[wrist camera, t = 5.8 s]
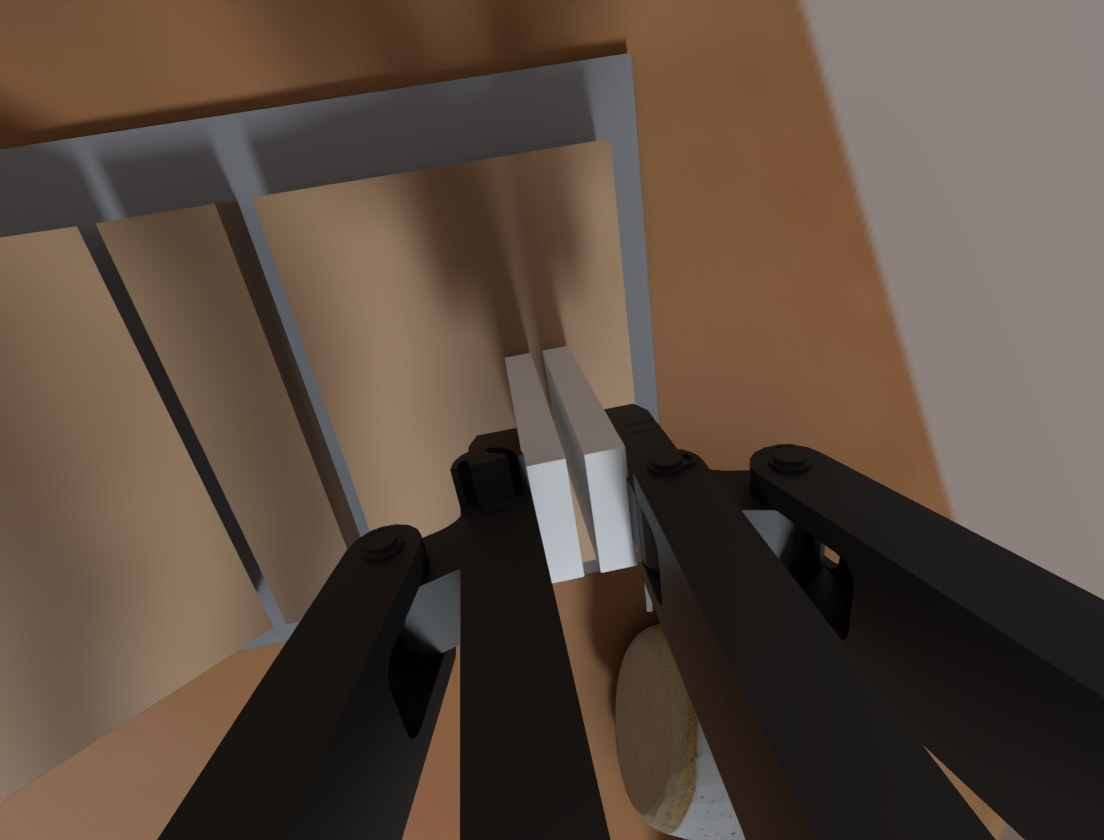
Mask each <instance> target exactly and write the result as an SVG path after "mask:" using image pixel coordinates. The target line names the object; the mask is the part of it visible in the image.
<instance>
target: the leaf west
mask: <svg viewBox="0 0 1104 840" xmlns="http://www.w3.org/2000/svg"><path fill="white" fill-rule="evenodd" d="M273 628H274V627H273V625H272V623H271V621H270V619H269V617H268V615H267V613H266V610H265V608H264V606H263V604H262V602H261V600H260V598H259V596H258V594H257V592H256V590H255V588H254V586H253V584H252V582H251V580H250V578H249V576H248V574H247V572H246V570H245V568H244V566H243V564H242V562H241V560H240V558H239V556H238V553H237V551H236V549H235V547H234V545H233V543H232V541H231V539H230V537H229V535H228V533H227V531H226V529H225V527H224V525H223V523H222V521H221V519H220V517H219V515H218V513H217V511H216V509H215V507H214V505H213V503H212V501H211V499H210V496H209V494H208V492H207V490H206V488H205V486H204V484H203V482H202V480H201V478H200V476H199V474H198V472H197V470H196V468H195V466H194V464H193V462H192V460H191V458H190V456H189V454H188V452H187V450H186V448H185V446H184V444H183V442H182V439H181V437H180V435H179V433H178V431H177V429H176V427H175V425H174V423H173V421H172V419H171V417H170V415H169V413H168V411H167V409H166V407H165V405H164V403H163V401H162V399H161V397H160V395H159V393H158V391H157V389H156V387H155V385H154V382H153V380H152V378H151V376H150V374H149V372H148V370H147V368H146V366H145V364H144V362H143V360H142V358H141V356H140V354H139V352H138V350H137V348H136V346H135V344H134V342H133V340H132V338H131V336H130V334H129V332H128V330H127V328H126V325H125V323H124V321H123V319H122V317H121V315H120V313H119V311H118V309H117V307H116V305H115V303H114V301H113V299H112V297H111V295H110V293H109V291H108V289H107V287H106V285H105V283H104V281H103V279H102V277H101V275H100V273H99V270H98V268H97V266H96V264H95V262H94V260H93V258H92V256H91V254H90V252H89V250H88V248H87V246H86V244H85V242H84V240H83V238H82V236H81V234H80V232H79V230H78V228H77V226H75V227H68V228H61V229H55V230H48V231H41V232H34V233H28V234H21V235H14V236H7V237H0V802H1V801H2V800H4V799H6V798H7V797H9V796H10V795H12V794H13V793H15V792H17V791H18V790H20V789H21V788H23V787H24V786H26V785H28V784H29V783H31V782H32V781H34V780H35V779H37V778H39V777H40V776H42V775H43V774H45V773H46V772H48V771H50V770H51V769H53V768H54V767H56V766H57V765H59V764H61V763H62V762H64V761H65V760H67V759H68V758H70V757H72V756H73V755H75V754H76V753H78V752H79V751H81V750H83V749H84V748H86V747H87V746H89V745H90V744H92V743H94V742H95V741H97V740H98V739H100V738H101V737H103V736H105V735H106V734H108V733H109V732H111V731H112V730H114V729H116V728H117V727H119V726H120V725H122V724H123V723H125V722H127V721H128V720H130V719H131V718H133V717H134V716H136V715H138V714H139V713H141V712H142V711H144V710H145V709H147V708H149V707H150V706H152V705H153V704H155V703H156V702H158V701H160V700H161V699H163V698H164V697H166V696H167V695H169V694H171V693H172V692H174V691H175V690H177V689H178V688H180V687H182V686H183V685H185V684H186V683H188V682H189V681H191V680H193V679H194V678H196V677H197V676H199V675H200V674H202V673H204V672H205V671H207V670H208V669H210V668H211V667H213V666H215V665H216V664H218V663H219V662H221V661H222V660H224V659H226V658H227V657H229V656H230V655H232V654H233V653H235V652H237V651H238V650H240V649H241V648H243V647H244V646H246V645H248V644H249V643H251V642H252V641H254V640H255V639H257V638H259V637H260V636H262V635H263V634H265V633H266V632H268V631H270V630H271V629H273Z"/></svg>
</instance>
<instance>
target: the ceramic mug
mask: <svg viewBox="0 0 1104 840" xmlns="http://www.w3.org/2000/svg"><path fill="white" fill-rule="evenodd" d="M615 731H616V744H617V753H618V761H619V765H620V770H621V774H622V778H623V782H624V786H625V789H626V792H627V794H628V796H629V798H630V800H631V802H632V804H633V806H634V807H635V809H636V810H637V812H638V813H639V814H640V816H641V817H642V818H643V819H644V821H645V822H646V823H647V824H648V825H649V826H651V827H652V828H654V829H656V830H658V831H661V832H663V833H666V834H669V835H673V836H676V837H680V838H683V839H687V840H746V839H745V837H744V834H743V832H742V829H741V827H740V824H739V822H738V819H737V817H736V814H735V811H734V809H733V806H732V804H731V801H730V799H729V796H728V794H727V791H726V789H725V786H724V784H723V781H722V778H721V776H720V773H719V771H718V768H717V766H716V763H715V761H714V758H713V756H712V753H711V751H710V748H709V745H708V743H707V740H706V738H705V735H704V733H703V730H702V728H701V725H700V723H699V720H698V718H697V715H696V712H695V710H694V707H693V705H692V702H691V700H690V697H689V695H688V692H687V690H686V687H685V685H684V682H683V679H682V677H681V674H680V672H679V669H678V667H677V664H676V662H675V659H674V657H673V654H672V652H671V649H670V646H669V644H668V641H667V639H666V636H665V634H664V631H663V629H662V626H661V624H658V625H654V626H651V627H647V628H645V629H644V630H643V631H642V632H640V633H639V634H638V635H637V636H636V637H635V638H634V639H633V641H632V642H631V644H630V646H629V647H628V649H627V651H626V653H625V655H624V658H623V661H622V664H621V668H620V673H619V678H618V683H617V691H616V706H615Z"/></svg>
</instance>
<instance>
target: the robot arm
mask: <svg viewBox="0 0 1104 840" xmlns="http://www.w3.org/2000/svg"><path fill="white" fill-rule="evenodd" d="M542 353H543V359H544V365H545V371H546V377H547V383H548V389H549V395H550V402H551V408H552V414H553V419H552V416H551V413H550V410H549V407H548V404H547V401H546V398H545V395H544V392H543V389H542V386H541V383H540V380H539V377H538V374H537V371H536V368H535V365H534V362H533V359H532V356H531V353H527V354H522V355H516V356H511V357H505V363H506V369H507V374H508V380H509V385H510V391H511V397H512V402H513V408H514V413H515V419H516V425H517V428H513V429H507V430H502V431H497V432H492V433H487V434H482V435H477V436H476V437H475V439H474V440H473V441H472V443H471V444H470V445H469V447H468V452H466V453H464V454H463V455H461V456H460V457H459V458H457V459H456V460H455V461H454V462H453V464H452V466H451V469H450V471H451V475H452V479H453V483H454V486H455V490H456V494H457V498H458V501H459V505H460V517H459V518H458V519H457V520H456V521H455V522H453V523H452V524H450V525H449V526H448V527H446V528H444V529H442V530H440V531H437V532H435V533H433V534H430V535H428V536H425V537H423V538H422V535H421V534H420V532H419V530H418V529H417V528H415V527H413V526H410V525H404V524H394V525H389V526H383V527H379V528H377V529H374V530H372V531H370V532H368V533H366V534H365V535H363V536H362V537H360V538H359V539H357V540H356V541H355V542H354V543H353V544H352V545H351V546H350V547H349V548H348V549H347V550H346V552H345V553H344V555H343V556H342V558H341V559H340V561H339V563H338V564H337V566H336V567H335V569H334V570H333V572H332V573H331V575H330V576H329V578H328V579H327V581H326V582H325V584H324V585H323V587H322V589H321V590H320V592H319V593H318V595H317V596H316V598H315V599H314V601H313V602H312V604H311V605H310V607H309V608H308V610H307V611H306V613H305V615H304V616H303V618H302V619H301V621H300V622H299V624H298V625H297V627H296V628H295V630H294V631H293V633H292V634H291V636H290V637H289V639H288V641H287V642H286V644H285V645H284V647H283V648H282V650H281V651H280V653H279V654H278V656H277V657H276V659H275V660H274V662H273V663H272V665H271V667H270V668H269V670H268V671H267V673H266V674H265V676H264V677H263V679H262V680H261V682H260V683H259V685H258V686H257V688H256V689H255V691H254V693H253V694H252V696H251V697H250V699H249V700H248V702H247V703H246V705H245V706H244V708H243V709H242V711H241V712H240V714H239V715H238V717H237V719H236V720H235V722H234V723H233V725H232V726H231V728H230V729H229V731H228V732H227V734H226V735H225V737H224V738H223V740H222V741H221V743H220V745H219V746H218V748H217V749H216V751H215V752H214V754H213V755H212V757H211V758H210V760H209V761H208V763H207V764H206V766H205V767H204V769H203V771H202V772H201V774H200V775H199V777H198V778H197V780H196V781H195V783H194V784H193V786H192V787H191V789H190V790H189V792H188V793H187V795H186V797H185V798H184V800H183V801H182V803H181V804H180V806H179V807H178V809H177V810H176V812H175V813H174V815H173V816H172V818H171V819H170V821H169V823H168V824H167V826H166V827H165V829H164V830H163V832H162V833H161V835H160V836H159V838H158V839H157V840H402V837H403V833H404V830H405V827H406V823H407V820H408V817H409V813H410V810H411V806H412V803H413V800H414V796H415V793H416V789H417V786H418V783H419V779H420V776H421V773H422V769H423V766H424V762H425V759H426V756H427V752H428V749H429V746H430V742H431V739H432V735H433V732H434V729H435V725H436V722H437V718H438V715H439V712H440V708H441V705H442V702H443V698H444V695H445V691H446V688H447V685H448V681H449V678H450V674H451V671H452V668H453V664H454V661H455V656H456V646H458V645H460V840H610V836H609V832H608V828H607V823H606V819H605V814H604V810H603V806H602V801H601V797H600V792H599V788H598V784H597V779H596V775H595V770H594V766H593V762H592V757H591V753H590V748H589V744H588V740H587V735H586V731H585V726H584V722H583V718H582V713H581V709H580V704H579V700H578V696H577V691H576V687H575V682H574V678H573V674H572V669H571V665H570V660H569V656H568V652H567V647H566V643H565V638H564V634H563V630H562V625H561V621H560V616H559V612H558V608H557V603H556V599H555V594H554V590H553V586H552V583H557V582H561V581H566V580H571V579H576V578H580V577H584V571H583V565H582V559H581V552H580V546H579V540H578V533H577V527H576V521H575V515H574V508H573V502H572V496H571V490H570V483H569V477H568V473H569V476H570V479H571V482H572V485H573V488H574V491H575V495H576V498H577V501H578V504H579V507H580V510H581V513H582V516H583V519H584V522H585V525H586V528H587V532H588V535H589V538H590V541H591V544H592V547H593V550H594V553H595V556H596V559H597V562H598V565H599V568H600V572H601V573H604V572H608V571H613V570H618V569H622V568H627V567H632V566H637V565H638V564H637V555H636V547H637V550H638V552H639V554H640V556H641V559H642V566H643V576H644V586H645V596H646V605H647V612H650V611H653V607H652V603H653V606H654V608H655V611H656V613H657V616H658V619H659V621H660V624H661V626H662V629H663V631H664V634H665V636H666V639H667V641H668V644H669V646H670V649H671V652H672V654H673V657H674V659H675V662H676V664H677V667H678V669H679V672H680V674H681V677H682V679H683V682H684V685H685V687H686V690H687V692H688V695H689V697H690V700H691V702H692V705H693V707H694V710H695V712H696V715H697V718H698V720H699V723H700V725H701V728H702V730H703V733H704V735H705V738H706V740H707V743H708V745H709V748H710V751H711V753H712V756H713V758H714V761H715V763H716V766H717V768H718V771H719V773H720V776H721V778H722V781H723V784H724V786H725V789H726V791H727V794H728V796H729V799H730V801H731V804H732V806H733V809H734V811H735V814H736V817H737V819H738V822H739V824H740V827H741V829H742V832H743V834H744V837H745V839H746V840H995V838H994V837H993V836H992V834H991V833H990V832H989V831H988V829H987V828H986V827H985V825H984V824H983V823H982V822H981V820H980V819H979V818H978V816H977V815H976V814H975V812H974V811H973V810H972V809H971V807H970V806H969V805H968V803H967V802H966V801H965V799H964V798H963V797H962V796H961V794H960V793H959V792H958V790H957V789H956V788H955V787H954V785H953V784H952V783H951V781H950V780H949V779H948V777H947V776H946V775H945V774H944V772H943V771H942V770H941V768H940V767H939V766H938V764H937V763H936V762H935V761H934V759H933V758H932V757H931V755H930V754H929V753H928V751H927V750H926V749H925V748H924V746H925V747H926V748H927V749H928V750H929V751H930V752H931V753H932V754H933V755H934V756H935V757H936V758H938V759H939V760H940V761H941V762H942V763H943V764H944V765H945V766H946V767H947V768H948V769H949V770H950V771H952V772H953V773H954V774H955V775H956V776H957V777H958V778H959V779H960V780H961V781H962V782H963V783H964V784H965V785H967V786H968V787H969V788H970V789H971V790H972V791H973V792H974V793H975V794H976V795H977V796H978V797H979V798H981V799H982V800H983V801H984V802H985V803H986V804H987V805H988V806H989V807H990V808H991V809H992V810H993V811H995V812H996V813H997V814H998V815H999V816H1000V817H1001V818H1002V819H1003V820H1004V821H1005V822H1006V823H1007V824H1009V825H1010V826H1011V827H1012V828H1013V829H1014V830H1015V831H1016V832H1017V833H1018V834H1019V835H1020V836H1021V837H1022V838H1024V839H1025V840H1104V600H1103V599H1101V598H1099V597H1097V596H1095V595H1093V594H1091V593H1090V592H1088V591H1086V590H1084V589H1082V588H1080V587H1078V586H1076V585H1074V584H1072V583H1070V582H1068V581H1066V580H1065V579H1063V578H1061V577H1059V576H1057V575H1055V574H1053V573H1051V572H1049V571H1047V570H1045V569H1043V568H1041V567H1039V566H1037V565H1036V564H1034V563H1032V562H1030V561H1028V560H1026V559H1024V558H1022V557H1020V556H1018V555H1017V554H1015V553H1013V552H1011V551H1009V550H1007V549H1005V548H1003V547H1001V546H999V545H997V544H995V543H993V542H992V541H990V540H988V539H986V538H984V537H982V536H980V535H978V534H976V533H974V532H972V531H970V530H968V529H967V528H965V527H963V526H961V525H959V524H957V523H955V522H953V521H951V520H949V519H947V518H945V517H944V516H942V515H940V514H938V513H936V512H934V511H932V510H930V509H928V508H926V507H924V506H922V505H920V504H919V503H917V502H915V501H913V500H911V499H909V498H907V497H905V496H903V495H901V494H899V493H897V492H895V491H894V490H892V489H890V488H888V487H886V486H884V485H882V484H880V483H878V482H876V481H874V480H872V479H871V478H869V477H867V476H865V475H863V474H861V473H859V472H857V471H855V470H853V469H851V468H849V467H847V466H846V465H844V464H842V463H840V462H838V461H836V460H834V459H832V458H830V457H828V456H826V455H824V454H823V453H821V452H818V451H816V450H813V449H810V448H808V447H803V446H796V445H793V444H785V445H783V444H779V445H775V446H770V447H765V448H762V449H761V450H759V451H757V452H755V453H754V454H753V455H752V457H751V458H750V470H743V471H721V470H711V469H709V468H708V466H707V465H706V464H705V462H704V461H703V460H702V459H701V458H700V457H699V456H697V455H696V454H695V453H692V452H689V451H686V450H680V449H677V448H676V447H675V445H674V444H673V443H672V441H671V440H670V439H669V437H668V436H667V435H666V433H665V432H664V431H663V429H661V427H660V426H659V424H658V423H657V422H656V421H655V419H654V418H653V416H652V415H651V414H650V412H649V411H648V410H647V409H644V408H642V407H640V406H638V405H636V404H628V405H623V406H618V407H613V408H607V409H603V407H602V405H601V404H600V402H599V400H598V398H597V396H596V395H595V393H594V391H593V389H592V388H591V386H590V384H589V382H588V381H587V379H586V377H585V375H584V374H583V372H582V370H581V368H580V367H579V365H578V363H577V361H576V360H575V358H574V356H573V354H572V352H571V351H570V349H569V347H568V346H564V347H559V348H554V349H548V350H543V351H542ZM553 420H554V422H553ZM567 470H568V471H567ZM825 545H826V546H827V547H828V548H830V549H831V550H833V551H834V552H835V553H837V554H838V555H839V556H840V559H839V564H837V563H835V562H833V561H831V560H830V559H828V558H827V557H826V556H824V552H825ZM923 745H924V746H923Z"/></svg>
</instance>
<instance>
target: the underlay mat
mask: <svg viewBox="0 0 1104 840" xmlns="http://www.w3.org/2000/svg"><path fill="white" fill-rule="evenodd" d="M604 139H610V141H611V151H612V162H613V173H614V183H615V194H616V204H617V215H618V226H619V236H620V247H621V258H622V268H623V279H624V289H625V300H626V311H627V321H628V332H629V343H630V353H631V364H632V374H633V385H634V396H635V404H636V405H638V406H640V407H642V408H644V409H647V410H648V411H649V412H650V414H651V415H652V416H653V418H654V419H655V421H656V422H657V423H658V424H659V416H658V403H657V389H656V376H655V363H654V349H653V336H652V323H651V310H650V296H649V283H648V270H647V257H646V243H645V230H644V217H643V203H642V190H641V177H640V164H639V150H638V137H637V124H636V110H635V97H634V84H633V71H632V57H631V53H627V54H620V55H614V56H607V57H601V58H594V59H587V60H581V61H574V62H568V63H561V64H555V65H548V66H542V67H535V68H529V69H522V70H516V71H509V72H502V73H496V74H489V75H483V76H476V77H470V78H463V79H457V80H450V81H444V82H437V83H430V84H424V85H417V86H411V87H404V88H398V89H391V90H385V91H378V92H372V93H365V94H359V95H352V96H345V97H339V98H332V99H326V100H319V101H313V102H306V103H300V104H293V105H287V106H280V107H274V108H267V109H260V110H254V111H247V112H241V113H234V114H228V115H221V116H215V117H208V118H202V119H195V120H188V121H182V122H175V123H169V124H162V125H156V126H149V127H143V128H136V129H130V130H123V131H117V132H110V133H103V134H97V135H90V136H84V137H77V138H71V139H64V140H58V141H51V142H45V143H38V144H32V145H25V146H18V147H12V148H5V149H0V237H7V236H14V235H21V234H28V233H34V232H41V231H48V230H55V229H61V228H68V227H75V226H77V228H78V230H79V232H80V234H81V236H82V238H83V240H84V242H85V244H86V246H87V248H88V250H89V252H90V254H91V256H92V258H93V260H94V262H95V264H96V266H97V268H98V270H99V273H100V275H101V277H102V279H103V281H104V283H105V285H106V287H107V289H108V291H109V293H110V295H111V297H112V299H113V301H114V303H115V305H116V307H117V309H118V311H119V313H120V315H121V317H122V319H123V321H124V323H125V325H126V328H127V330H128V332H129V334H130V336H131V338H132V340H133V342H134V344H135V346H136V348H137V350H138V352H139V354H140V356H141V358H142V360H143V362H144V364H145V366H146V368H147V370H148V372H149V374H150V376H151V378H152V380H153V382H154V385H155V387H156V389H157V391H158V393H159V395H160V397H161V399H162V401H163V403H164V405H165V407H166V409H167V411H168V413H169V415H170V417H171V419H172V421H173V423H174V425H175V427H176V429H177V431H178V433H179V435H180V437H181V439H182V442H183V444H184V446H185V448H186V450H187V452H188V454H189V456H190V458H191V460H192V462H193V464H194V466H195V468H196V470H197V472H198V474H199V476H200V478H201V480H202V482H203V484H204V486H205V488H206V490H207V492H208V494H209V496H210V499H211V501H212V503H213V505H214V507H215V509H216V511H217V513H218V515H219V517H220V519H221V521H222V523H223V525H224V527H225V529H226V531H227V533H228V535H229V537H230V539H231V541H232V543H233V545H234V547H235V549H236V551H237V553H238V556H239V558H240V560H241V562H242V564H243V566H244V568H245V570H246V572H247V574H248V576H249V578H250V580H251V582H252V584H253V586H254V588H255V590H256V592H257V594H258V596H259V598H260V600H261V602H262V604H263V606H264V608H265V610H266V613H267V615H268V617H269V619H270V621H271V623H272V625H273V627H274V628H273V629H271V630H270V631H268V632H266V633H265V634H263V635H262V636H260V637H259V638H257V639H255V640H254V641H252V642H251V643H249V644H248V645H246V646H244V647H243V648H241V649H240V650H238V651H237V652H239V651H243V650H248V649H252V648H257V647H261V646H266V645H270V644H275V643H279V642H284V641H288V639H289V637H290V636H291V634H292V633H293V631H294V630H295V628H296V627H297V625H298V624H299V622H300V621H299V622H295V623H290V624H286V622H285V620H284V618H283V616H282V614H281V612H280V610H279V608H278V606H277V603H276V601H275V599H274V597H273V595H272V593H271V591H270V589H269V587H268V585H267V582H266V580H265V578H264V576H263V574H262V572H261V570H260V568H259V566H258V564H257V561H256V559H255V557H254V555H253V553H252V551H251V549H250V547H249V545H248V543H247V541H246V538H245V536H244V534H243V532H242V530H241V528H240V526H239V524H238V522H237V520H236V517H235V515H234V513H233V511H232V509H231V507H230V505H229V503H228V501H227V499H226V496H225V494H224V492H223V490H222V488H221V486H220V484H219V482H218V480H217V478H216V475H215V473H214V471H213V469H212V467H211V465H210V463H209V461H208V459H207V457H206V454H205V452H204V450H203V448H202V446H201V444H200V442H199V440H198V438H197V436H196V433H195V431H194V429H193V427H192V425H191V423H190V421H189V419H188V417H187V415H186V413H185V410H184V408H183V406H182V404H181V402H180V400H179V398H178V396H177V394H176V392H175V389H174V387H173V385H172V383H171V381H170V379H169V377H168V375H167V373H166V371H165V368H164V366H163V364H162V362H161V360H160V358H159V356H158V354H157V352H156V350H155V347H154V345H153V343H152V341H151V339H150V337H149V335H148V333H147V331H146V329H145V326H144V324H143V322H142V320H141V318H140V316H139V314H138V312H137V310H136V308H135V305H134V303H133V301H132V299H131V297H130V295H129V293H128V291H127V289H126V287H125V285H124V282H123V280H122V278H121V276H120V274H119V272H118V270H117V268H116V266H115V264H114V261H113V259H112V257H111V255H110V253H109V251H108V249H107V247H106V245H105V243H104V240H103V238H102V236H101V234H100V232H99V230H98V228H97V226H96V224H95V223H100V222H106V221H112V220H118V219H124V218H130V217H136V216H143V215H149V214H155V213H161V212H167V211H173V210H179V209H185V208H191V207H197V206H204V205H210V204H217V203H228V202H238V203H239V206H240V209H241V212H242V214H243V217H244V220H245V222H246V225H247V228H248V231H249V233H250V236H251V239H252V242H253V244H254V247H255V250H256V252H257V255H258V258H259V261H260V263H261V266H262V269H263V272H264V274H265V277H266V280H267V283H268V285H269V288H270V291H271V293H272V296H273V299H274V302H275V304H276V307H277V310H278V313H279V315H280V318H281V321H282V323H283V326H284V329H285V332H286V334H287V337H288V340H289V343H290V345H291V348H292V351H293V353H294V356H295V359H296V362H297V364H298V367H299V370H300V373H301V375H302V378H303V381H304V383H305V386H306V389H307V392H308V394H309V397H310V400H311V403H312V405H313V408H314V411H315V413H316V416H317V419H318V422H319V424H320V427H321V430H322V433H323V435H324V438H325V441H326V443H327V446H328V449H329V452H330V454H331V457H332V460H333V463H334V465H335V468H336V471H337V473H338V476H339V479H340V482H341V484H342V487H343V490H344V493H345V495H346V498H347V501H348V504H349V506H350V509H351V512H352V514H353V517H354V520H355V523H356V525H357V528H358V531H359V534H360V536H361V537H362V536H363V535H365V534H366V533H368V532H370V530H369V527H368V524H367V521H366V518H365V516H364V513H363V510H362V507H361V504H360V502H359V499H358V496H357V493H356V490H355V488H354V485H353V482H352V479H351V476H350V473H349V471H348V468H347V465H346V462H345V459H344V457H343V454H342V451H341V448H340V445H339V443H338V440H337V437H336V434H335V431H334V428H333V426H332V423H331V420H330V417H329V414H328V412H327V409H326V406H325V403H324V400H323V398H322V395H321V392H320V389H319V386H318V384H317V381H316V378H315V375H314V372H313V369H312V367H311V364H310V361H309V358H308V355H307V353H306V350H305V347H304V344H303V341H302V339H301V336H300V333H299V330H298V327H297V324H296V322H295V319H294V316H293V313H292V310H291V308H290V305H289V302H288V299H287V296H286V294H285V291H284V288H283V285H282V282H281V280H280V277H279V274H278V271H277V268H276V265H275V263H274V260H273V257H272V254H271V251H270V249H269V246H268V243H267V240H266V237H265V235H264V232H263V229H262V226H261V223H260V220H259V218H258V215H257V212H256V209H255V206H254V204H253V201H252V197H258V196H264V195H270V194H277V193H283V192H289V191H295V190H301V189H307V188H313V187H319V186H325V185H331V184H337V183H343V182H349V181H355V180H362V179H368V178H374V177H380V176H386V175H392V174H398V173H404V172H410V171H416V170H422V169H428V168H434V167H440V166H446V165H453V164H459V163H465V162H471V161H477V160H483V159H489V158H495V157H501V156H507V155H513V154H519V153H525V152H531V151H538V150H544V149H550V148H556V147H562V146H568V145H574V144H580V143H586V142H592V141H598V140H604ZM636 555H637V563H640V562H642V559H641V556H640V554H639V552H638V551H636ZM582 565H583V571H584V575H586V574H590V573H595V572H599V571H600V568H599V565H598V562H597V559H596V560H591V561H586V562H582Z"/></svg>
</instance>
